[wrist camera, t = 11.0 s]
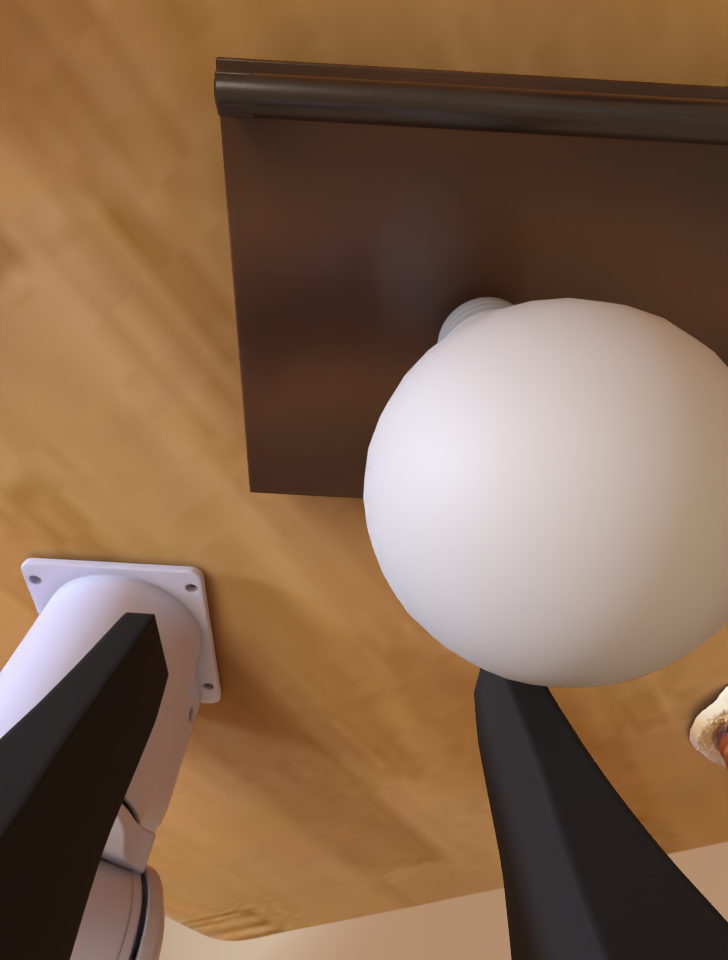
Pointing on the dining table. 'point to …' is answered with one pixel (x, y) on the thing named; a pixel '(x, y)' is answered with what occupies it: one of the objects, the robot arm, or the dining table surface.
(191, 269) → the dining table surface
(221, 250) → the dining table surface
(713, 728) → the dessert
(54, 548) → the dining table surface
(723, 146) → the shelf
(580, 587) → the lightbulb
